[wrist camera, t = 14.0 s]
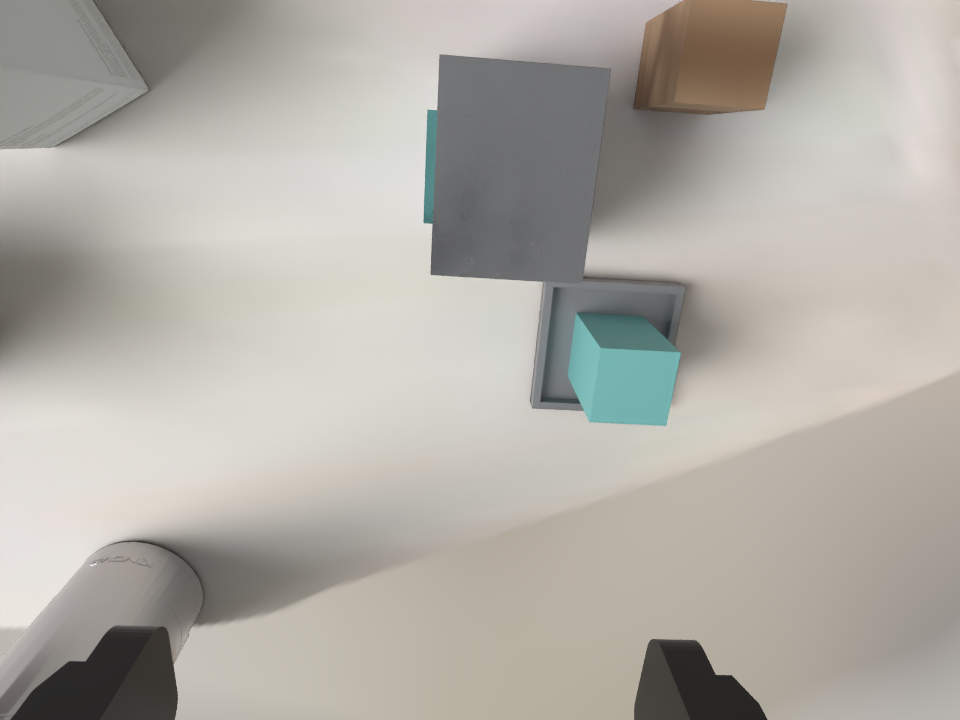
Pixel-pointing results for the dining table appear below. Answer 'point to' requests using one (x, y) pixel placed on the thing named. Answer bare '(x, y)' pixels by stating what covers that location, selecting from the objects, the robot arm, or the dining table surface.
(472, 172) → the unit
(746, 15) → the walnut block
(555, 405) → the tray
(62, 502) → the dining table surface
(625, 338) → the teal block
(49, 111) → the supplement box
